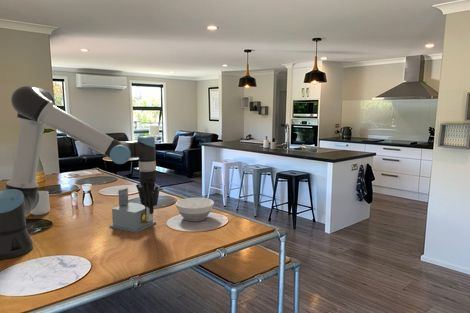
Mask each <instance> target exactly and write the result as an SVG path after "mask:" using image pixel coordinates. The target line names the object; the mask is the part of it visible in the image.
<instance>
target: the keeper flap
mask: <svg viewBox="0 0 470 313" xmlns="http://www.w3.org/2000/svg"><path fill="white" fill-rule="evenodd" d="M117 193H118V206H119V207H121V206H124V205H127V204H128V203H129V191H128V187H124V188H121V189H118V192H117Z"/></svg>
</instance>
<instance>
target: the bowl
mask: <svg viewBox="0 0 470 313" xmlns="http://www.w3.org/2000/svg"><path fill="white" fill-rule="evenodd" d="M214 204H215V202H214V200H213V199H210V198H206V197H186V198H181V199H179V200H177V201H176V202H175V206H176V208H177V211H178V212H179V214H180V215H181V217H182V218H183V219H184V220H185V221H188V222H201V221H203V220H204V221H205V220H206V219H207V217H208V216H209V214H210V213H211V211H212V209H213V207H214Z"/></svg>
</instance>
